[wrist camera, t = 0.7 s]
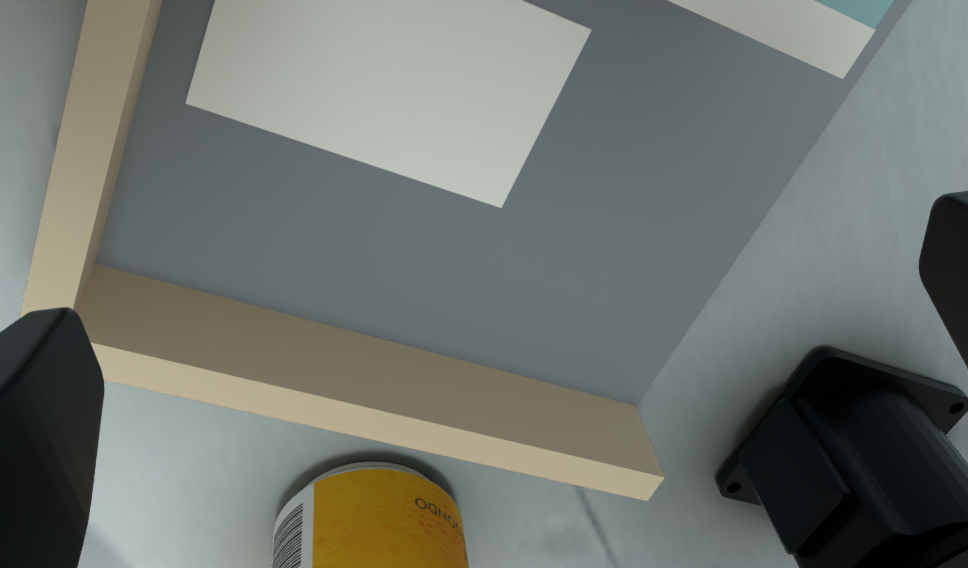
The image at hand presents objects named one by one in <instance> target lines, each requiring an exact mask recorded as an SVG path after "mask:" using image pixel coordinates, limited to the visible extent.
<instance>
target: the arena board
mask: <svg viewBox="0 0 968 568" xmlns="http://www.w3.org/2000/svg"><path fill="white" fill-rule="evenodd" d="M911 1H912V0H894V1H893V2H892V4H891V5H890V7H889V8H888V10H887V11H886V13H885V14H884V16H883V17H882V19H881V20H880V22H879V23H878V25H877V26H876V28H875V30H876V31H875V32H874V34H873V35H872V37H871V38H870V40H869V41H868V43H867V44H866V45H865V47H864V48H863V50H862V51H861V53H860V54H859V56H858V57H857V59H856V60H855V62H854V63H853V65H852V66H851V68H850V69H849V71H848V72H847V74H846V75H845V77H844V78H843V79H841V78H839V77H837V76H835V75H832V74H830V73H828V72H826V71H824V70H821V69H819V68H817V67H815V66H812V65H810V64H808V63H806V62H804V61H801V60H799V59H797V58H795V57H792V56H790V55H788V54H786V53H783V52H781V51H779V50H777V49H775V48H772V47H770V46H768V45H766V44H763V43H761V42H759V41H757V40H755V39H752V38H750V37H748V36H746V35H743V34H741V33H739V32H737V31H734V30H732V29H730V28H728V27H726V26H723V25H721V24H719V23H717V22H714V21H712V20H710V19H708V18H706V17H703V16H701V15H699V14H697V13H694V12H692V11H690V10H688V9H685V8H683V7H681V6H679V5H677V4H674V3H672V2H670V1H668V0H87V5H86V10H85V14H84V19H83V24H82V28H81V33H80V38H79V42H78V47H77V52H76V56H75V61H74V66H73V70H72V75H71V80H70V84H69V89H68V93H67V98H66V103H65V107H64V112H63V117H62V121H61V126H60V131H59V135H58V140H57V145H56V149H55V154H54V159H53V163H52V168H51V173H50V177H49V182H48V186H47V191H46V196H45V200H44V205H43V210H42V214H41V219H40V224H39V228H38V233H37V238H36V242H35V247H34V252H33V256H32V261H31V266H30V270H29V275H28V280H27V284H26V289H25V293H24V298H23V303H22V307H21V312H20V317H19V319H20V318H21V317H22V316H24V315H25V314H27V313H29V312H32V311H36V310H44V309H52V308H60V307H69V308H72V309H73V310H75V311H76V312H77V314H78V315H79V316H80V318H81V320H82V323H83V325H84V328H85V330H86V332H87V335H88V337H89V340H90V342H91V345H92V347H93V350H94V352H95V355H96V357H97V360H98V362H99V365H100V367H101V370H102V374H103V379H104V380H106V381H111V382H115V383H120V384H124V385H129V386H133V387H138V388H142V389H147V390H151V391H156V392H160V393H165V394H169V395H174V396H178V397H183V398H187V399H192V400H196V401H201V402H205V403H209V404H214V405H218V406H223V407H227V408H232V409H236V410H241V411H245V412H250V413H254V414H259V415H263V416H268V417H272V418H277V419H281V420H286V421H290V422H295V423H299V424H304V425H308V426H313V427H317V428H322V429H326V430H331V431H335V432H340V433H344V434H349V435H353V436H358V437H362V438H367V439H371V440H376V441H380V442H384V443H389V444H393V445H398V446H402V447H407V448H411V449H416V450H420V451H425V452H429V453H434V454H438V455H443V456H447V457H452V458H456V459H461V460H465V461H470V462H474V463H479V464H483V465H488V466H492V467H497V468H501V469H506V470H510V471H515V472H519V473H524V474H528V475H533V476H537V477H542V478H546V479H550V480H555V481H559V482H564V483H568V484H573V485H577V486H582V487H586V488H591V489H595V490H600V491H604V492H609V493H613V494H618V495H622V496H627V497H631V498H636V499H640V500H645V501H648V500H649V498H650V497H651V496H652V494H653V493H654V492H655V490H656V489H657V487H658V486H659V485H660V483H661V482H662V481H663V479H664V478H665V477H664V474H663V472H662V469H661V467H660V464H659V462H658V459H657V457H656V454H655V452H654V449H653V447H652V445H651V442H650V440H649V437H648V435H647V432H646V430H645V427H644V425H643V422H642V420H641V417H640V415H639V412H638V410H637V408H636V405H637V404H638V402H639V401H640V399H641V398H642V396H643V395H644V393H645V392H646V390H647V389H648V388H649V386H650V385H651V383H652V382H653V380H654V379H655V377H656V376H657V374H658V373H659V371H660V370H661V368H662V367H663V365H664V364H665V363H666V361H667V360H668V358H669V357H670V355H671V354H672V352H673V351H674V349H675V348H676V346H677V345H678V343H679V342H680V340H681V339H682V338H683V336H684V335H685V333H686V332H687V330H688V329H689V327H690V326H691V324H692V323H693V321H694V320H695V318H696V317H697V315H698V314H699V313H700V311H701V310H702V308H703V307H704V305H705V304H706V302H707V301H708V299H709V298H710V296H711V295H712V293H713V292H714V290H715V289H716V288H717V286H718V285H719V283H720V282H721V280H722V279H723V277H724V276H725V274H726V273H727V271H728V270H729V268H730V267H731V265H732V264H733V263H734V261H735V260H736V258H737V257H738V255H739V254H740V252H741V251H742V249H743V248H744V246H745V245H746V243H747V242H748V240H749V239H750V238H751V236H752V235H753V233H754V232H755V230H756V229H757V227H758V226H759V224H760V223H761V221H762V220H763V218H764V217H765V215H766V214H767V213H768V211H769V210H770V208H771V207H772V205H773V204H774V202H775V201H776V199H777V198H778V196H779V195H780V193H781V192H782V190H783V189H784V188H785V186H786V185H787V183H788V182H789V180H790V179H791V177H792V176H793V174H794V173H795V171H796V170H797V168H798V167H799V165H800V164H801V163H802V161H803V160H804V158H805V157H806V155H807V154H808V152H809V151H810V149H811V148H812V146H813V145H814V143H815V142H816V140H817V139H818V138H819V136H820V135H821V133H822V132H823V130H824V129H825V127H826V126H827V124H828V123H829V121H830V120H831V118H832V117H833V115H834V114H835V113H836V111H837V110H838V108H839V107H840V105H841V104H842V102H843V101H844V99H845V98H846V96H847V95H848V93H849V92H850V90H851V89H852V88H853V86H854V85H855V83H856V82H857V80H858V79H859V77H860V76H861V74H862V73H863V71H864V70H865V68H866V67H867V65H868V64H869V63H870V61H871V60H872V58H873V57H874V55H875V54H876V52H877V51H878V49H879V48H880V46H881V45H882V43H883V42H884V40H885V39H886V37H887V36H888V35H889V33H890V32H891V30H892V29H893V27H894V26H895V24H896V23H897V21H898V20H899V18H900V17H901V15H902V14H903V12H904V11H905V10H906V8H907V7H908V5H909V4H910V2H911Z"/></svg>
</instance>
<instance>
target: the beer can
mask: <svg viewBox="0 0 968 568" xmlns="http://www.w3.org/2000/svg"><path fill="white" fill-rule="evenodd" d="M271 568H469V567H468V560H467V554H466V547H465V540H464V533H463V527H462V520H461V516H460V512H459V510H458V507H457V505H456V504H455V502H454V501H453V499H452V498H451V497H450V496H449V494H448V493H447V492H446V491H444V490H443V489H442V488H441V487H440V486H438V485H436V484H435V483H433V482H432V481H430V480H429V479H428V478H426V477H425V476H424V475H422V474H421V473H419V472H417V471H415V470H413V469H411V468H408V467H405V466H402V465H399V464H394V463H389V462H378V461H368V462H358V463H352V464H348V465H344V466H340V467H337V468H334V469H332V470H330V471H327V472H325V473H323V474H322V475H320V476H318V477H317V478H315V479H314V480H313V481H311V482H310V483H309V484H308V485H307V486H305V487H304V489H303V490H301V491H300V492H299V493H297V494H296V495H295V496H294V497H293V498H292V499H291V500H290V501H289V502H288V503H287V504H286V505H285V506H284V508H283V509H282V511H281V512H280V514H279V516H278V518H277V520H276V523H275V527H274V532H273V545H272V559H271Z"/></svg>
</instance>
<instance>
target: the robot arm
mask: <svg viewBox="0 0 968 568" xmlns="http://www.w3.org/2000/svg"><path fill="white" fill-rule="evenodd" d="M919 273H920V277H921V281H922V283H923V285H924V287H925V289H926V291H927V293H928V295H929V297H930V298H931V300H932V302H933V304H934V306H935V308H936V310H937V312H938V313H939V315H940V317H941V319H942V321H943V323H944V325H945V327H946V329H947V330H948V332H949V334H950V336H951V338H952V340H953V342H954V344H955V345H956V347H957V349H958V351H959V353H960V355H961V357H962V359H963V360H964V362H965V364H966V366H967V368H968V191H964V192H956V193H948V194H944V195H942V196H940V197H939V198H938V199H937V200H936V201H935V202H934V204H933V206H932V209H931V212H930V217H929V221H928V225H927V229H926V233H925V237H924V241H923V246H922V250H921V254H920V258H919ZM827 363H829V364H827ZM825 364H827V365H826V366H824V365H825ZM823 366H824V367H823ZM103 399H104V379H103V374H102V370H101V367H100V365H99V362H98V360H97V357H96V355H95V352H94V350H93V347H92V345H91V342H90V340H89V337H88V335H87V332H86V330H85V328H84V325H83V323H82V320H81V318H80V316H79V315H78V314H77V312H76V311H75V310H73V309H72V308H69V307H60V308H52V309H44V310H36V311H32V312H29V313H27V314H25V315H24V316H22V317H21V318H20V319H18V320H17V321H15V322H14V323H13V324H11V325H10V326H8V327H7V328H6V329H4V330H3V331H1V332H0V568H77V567H78V563H79V559H80V555H81V551H82V547H83V543H84V538H85V534H86V529H87V525H88V520H89V513H90V507H91V500H92V492H93V483H94V475H95V466H96V458H97V450H98V441H99V433H100V424H101V416H102V407H103ZM967 411H968V397H967V395H966V394H965V393H964V392H963V391H962V390H960V389H957V388H954V387H951V386H948V385H945V384H941V383H938V382H935V381H932V380H929V379H926V378H922V377H919V376H916V375H913V374H910V373H907V372H904V371H900V370H897V369H894V368H891V367H888V366H885V365H881V364H878V363H875V362H872V361H869V360H866V359H862V358H859V357H856V356H853V355H850V354H847V353H843V352H840V351H837V350H834V349H828V348H827V349H822V350H819V351H818V352H816V353H814V354H813V355H812V356H811V357H810V359H809V360H808V361H807V362H806V364H805V365H804V366H803V368H802V369H801V370H800V371H799V373H798V374H797V375H796V377H795V378H794V379H793V380H792V382H791V383H790V384H789V385H788V387H787V388H786V389H785V391H784V392H783V393H782V394H781V396H780V397H779V398H778V400H777V401H776V402H775V403H774V405H773V406H772V407H771V409H770V410H769V411H768V412H767V414H766V415H765V416H764V418H763V419H762V420H761V421H760V423H759V424H758V425H757V427H756V428H755V429H754V430H753V432H752V433H751V434H750V436H749V437H748V438H747V439H746V441H745V442H744V443H743V444H742V446H741V447H740V448H739V450H738V451H737V452H736V453H735V455H734V456H733V457H732V459H731V460H730V461H729V462H728V464H727V465H726V466H725V468H724V469H723V470H722V471H721V473H720V474H719V475H718V477H717V479H716V485H717V487H718V490H719V492H720V493H721V495H722V496H724V497H726V498H731V499H735V500H739V501H744V502H748V503H752V504H756V505H761V506H763V508H764V510H765V512H766V514H767V516H768V518H769V520H770V522H771V524H772V526H773V528H774V530H775V532H776V534H777V536H778V537H779V539H780V541H781V543H782V545H783V547H784V549H785V551H786V552H787V553H788V554H791V555H793V557H794V559H795V561H796V563H797V565H798V567H799V568H968V463H967V462H966V461H965V459H964V458H963V457H962V455H961V454H960V453H959V452H958V450H957V449H956V448H955V447H954V445H953V444H952V443H951V442H950V440H949V439H948V438H947V436H946V434H947V433H948V432H949V431H950V430H951V429H952V427H953V426H954V425H955V424H956V423H957V422H958V421H959V420H960V419H961V418H962V417H963V416H964V414H965V413H966V412H967Z"/></svg>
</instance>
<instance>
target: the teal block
mask: <svg viewBox="0 0 968 568" xmlns="http://www.w3.org/2000/svg"><path fill="white" fill-rule="evenodd" d="M668 1H670V2H672V3H674V4H677V5H679V6H681V7H683V8H685V9H688V10H690V11H692V12H694V13H697V14H699V15H701V16H703V17H706V18H708V19H710V20H712V21H714V22H717V23H719V24H721V25H723V26H726V27H728V28H730V29H732V30H734V31H737V32H739V33H741V34H743V35H746V36H748V37H750V38H752V39H755V40H757V41H759V42H761V43H763V44H766V45H768V46H770V47H772V48H775V49H777V50H779V51H781V52H783V53H786V54H788V55H790V56H792V57H795V58H797V59H799V60H801V61H804V62H806V63H808V64H810V65H812V66H815V67H817V68H819V69H821V70H824V71H826V72H828V73H830V74H832V75H835V76H837V77H839V78H841V79H843V78H844V77H845V75H846V74H847V72H848V71H849V69H850V68H851V66H852V65H853V63H854V62H855V60H856V59H857V57H858V56H859V54H860V53H861V51H862V50H863V48H864V47H865V45H866V44H867V43H868V41H869V40H870V38H871V37H872V35H873V34H874V32H875V31H876V30H875V28H876V26H877V25H878V23H879V22H880V20H881V19H882V17H883V16H884V14H885V13H886V11H887V10H888V8H889V7H890V5H891V4H892V2H893V1H894V0H668Z"/></svg>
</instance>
